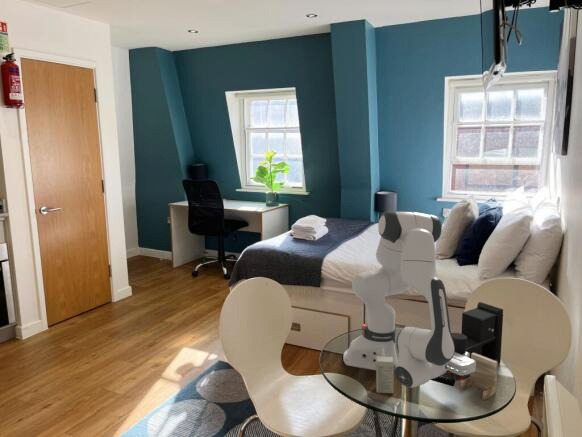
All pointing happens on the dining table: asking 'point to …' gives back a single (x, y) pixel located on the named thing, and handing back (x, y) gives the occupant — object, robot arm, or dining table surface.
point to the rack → (483, 375)
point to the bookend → (483, 331)
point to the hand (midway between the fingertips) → (458, 350)
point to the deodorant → (460, 348)
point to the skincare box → (384, 374)
